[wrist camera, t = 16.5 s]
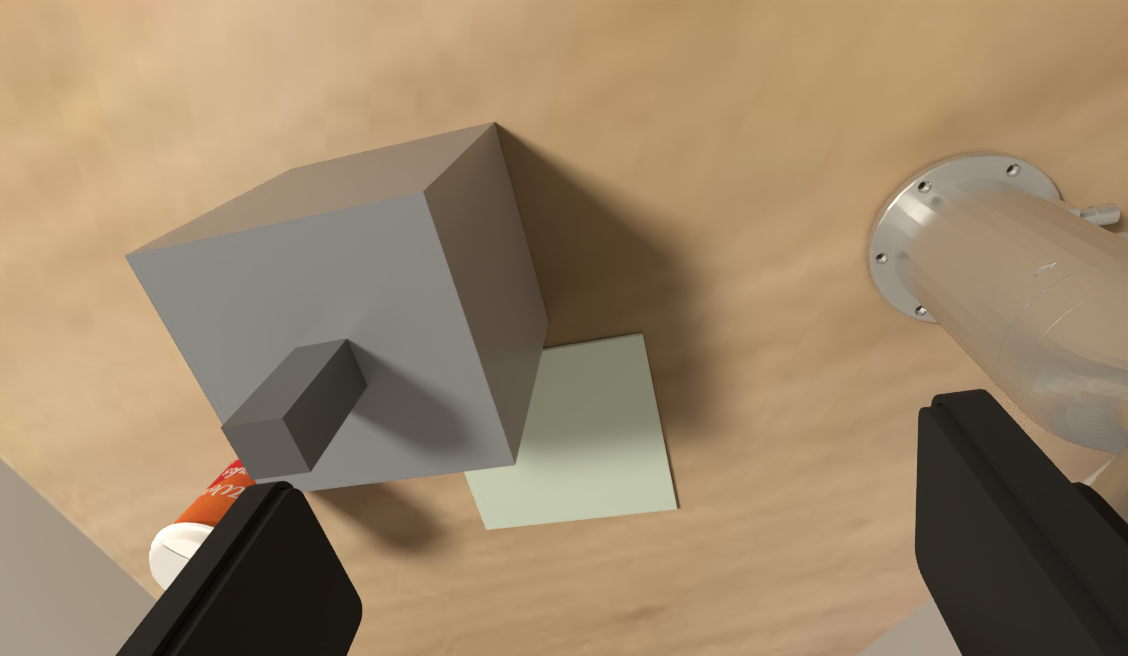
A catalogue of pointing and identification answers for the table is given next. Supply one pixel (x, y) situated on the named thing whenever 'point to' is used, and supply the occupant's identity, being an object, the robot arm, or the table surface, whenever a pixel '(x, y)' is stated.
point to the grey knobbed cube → (361, 314)
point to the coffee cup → (195, 524)
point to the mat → (583, 442)
